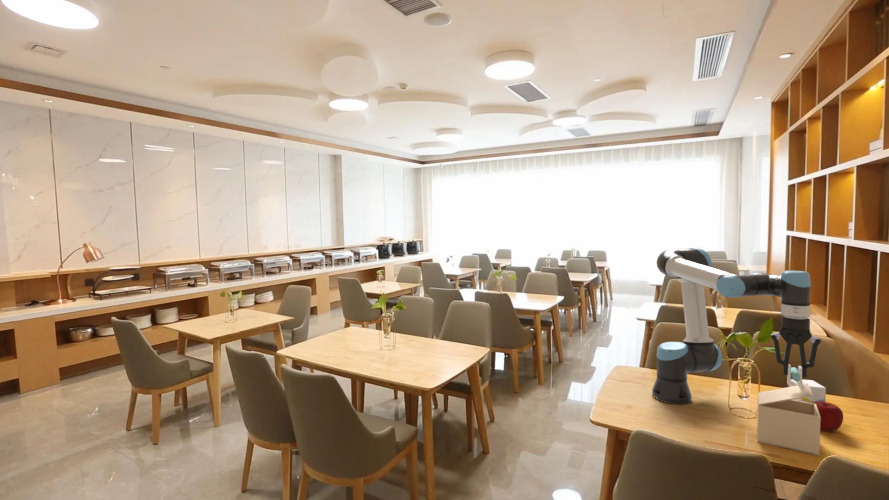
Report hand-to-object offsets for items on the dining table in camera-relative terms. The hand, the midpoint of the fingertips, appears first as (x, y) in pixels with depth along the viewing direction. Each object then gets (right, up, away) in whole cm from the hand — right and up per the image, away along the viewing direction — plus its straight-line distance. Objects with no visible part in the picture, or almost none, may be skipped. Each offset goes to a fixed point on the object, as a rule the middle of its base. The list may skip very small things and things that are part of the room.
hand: (794, 385), depth 145 cm
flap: (-2, -4, +2) cm, 5 cm away
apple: (+19, -20, +10) cm, 29 cm away
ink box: (+25, -19, +24) cm, 39 cm away
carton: (-1, -20, +2) cm, 20 cm away
